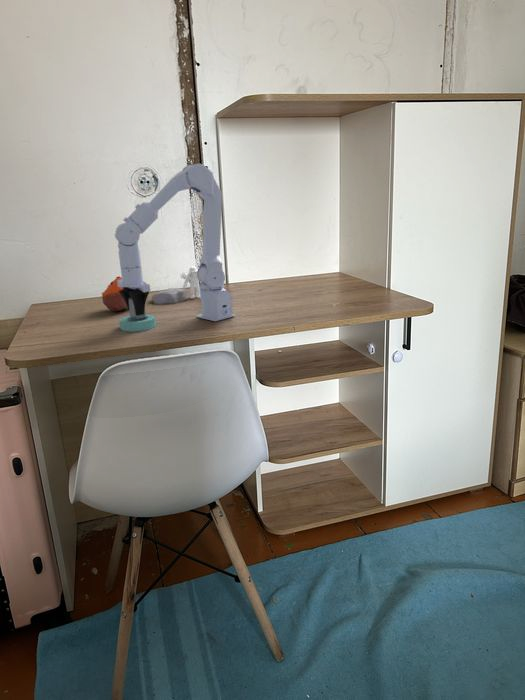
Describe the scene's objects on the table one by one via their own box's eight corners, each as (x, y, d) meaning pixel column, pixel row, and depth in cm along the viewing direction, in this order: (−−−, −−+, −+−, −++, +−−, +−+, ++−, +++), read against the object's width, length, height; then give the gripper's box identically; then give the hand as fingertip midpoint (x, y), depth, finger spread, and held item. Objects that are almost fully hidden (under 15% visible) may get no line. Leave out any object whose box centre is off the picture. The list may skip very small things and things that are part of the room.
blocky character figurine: (207, 295, 196) (204, 262, 192) (208, 297, 192) (205, 263, 188) (182, 297, 194) (179, 264, 191) (183, 299, 191) (179, 265, 187)
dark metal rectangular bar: (146, 324, 157) (143, 297, 155) (137, 326, 155) (133, 299, 153) (140, 322, 159) (137, 296, 157) (131, 325, 157) (127, 298, 155)
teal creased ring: (162, 325, 157) (161, 317, 156) (132, 333, 151) (131, 324, 150) (144, 320, 164) (143, 312, 163) (114, 327, 158) (113, 319, 157)
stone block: (151, 309, 187) (178, 303, 185) (147, 295, 186) (174, 289, 184) (163, 302, 199) (188, 297, 196) (159, 290, 198) (185, 284, 195)
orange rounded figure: (126, 315, 172) (122, 279, 169) (97, 314, 175) (92, 279, 172) (143, 306, 184) (139, 272, 180) (115, 306, 186) (111, 273, 183)
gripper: (105, 266, 154) (111, 313, 159) (131, 271, 144) (137, 320, 148) (127, 263, 159) (132, 308, 163) (154, 267, 149) (159, 315, 153)
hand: (136, 313), depth 156 cm, fingers closed on dark metal rectangular bar, 3 cm apart
